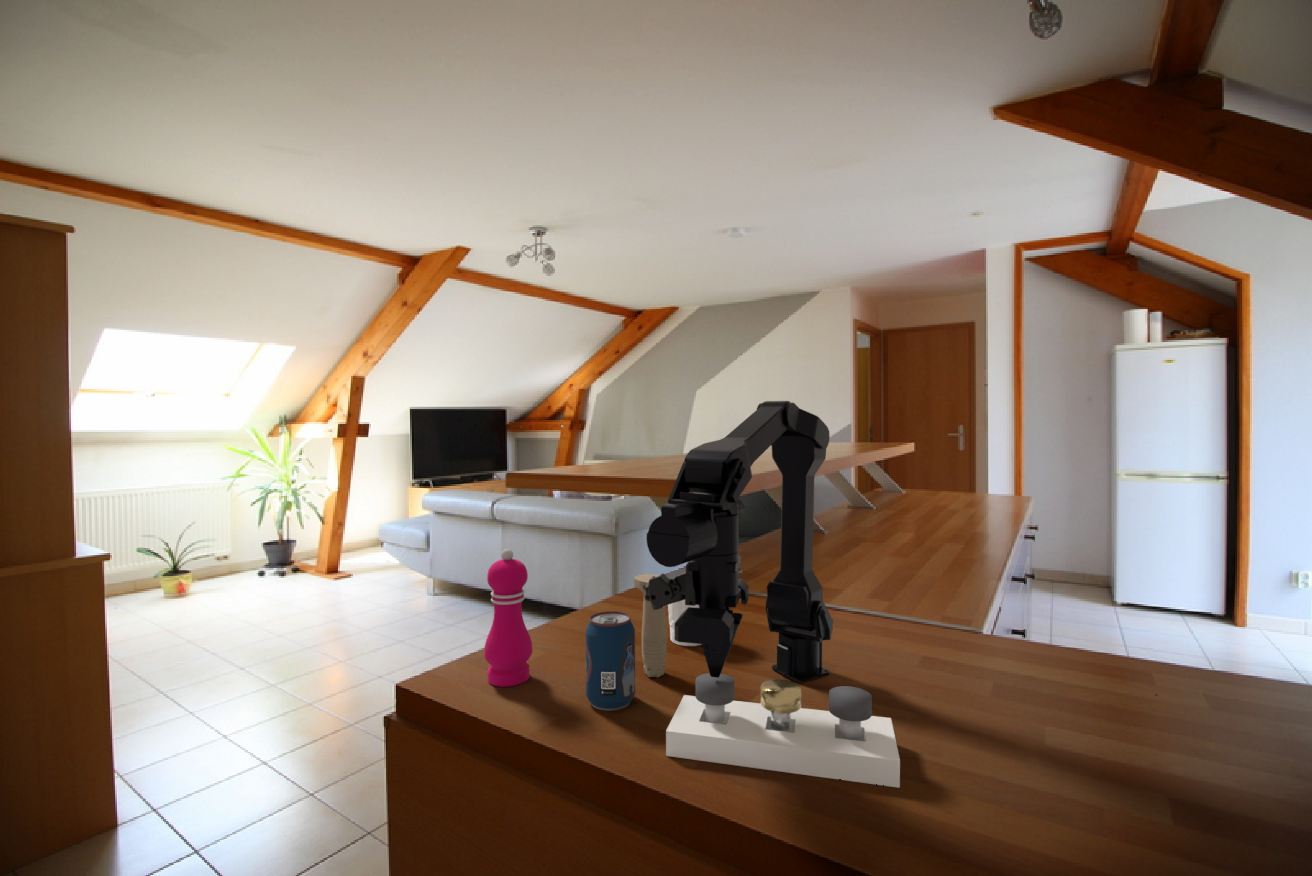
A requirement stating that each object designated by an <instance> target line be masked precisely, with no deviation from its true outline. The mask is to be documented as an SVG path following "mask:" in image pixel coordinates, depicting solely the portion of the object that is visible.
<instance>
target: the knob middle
mask: <svg viewBox="0 0 1312 876" xmlns="http://www.w3.org/2000/svg"><path fill="white" fill-rule="evenodd" d="M760 704H761V705H762V707H764V708H765V709H767V710H769V711H771V727H772V728H773V729H775V730H778V731H787V730H789V729H790V728H791V713H792V712H796V711H798V710H799V709H800V708H802V687H801V686H800V685H799V684H797V683H796V682H793V681H791V680H786V679H781V678H779V679H777V678H776V679H769V680H765V681H763V682H761V684H760Z"/></svg>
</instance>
